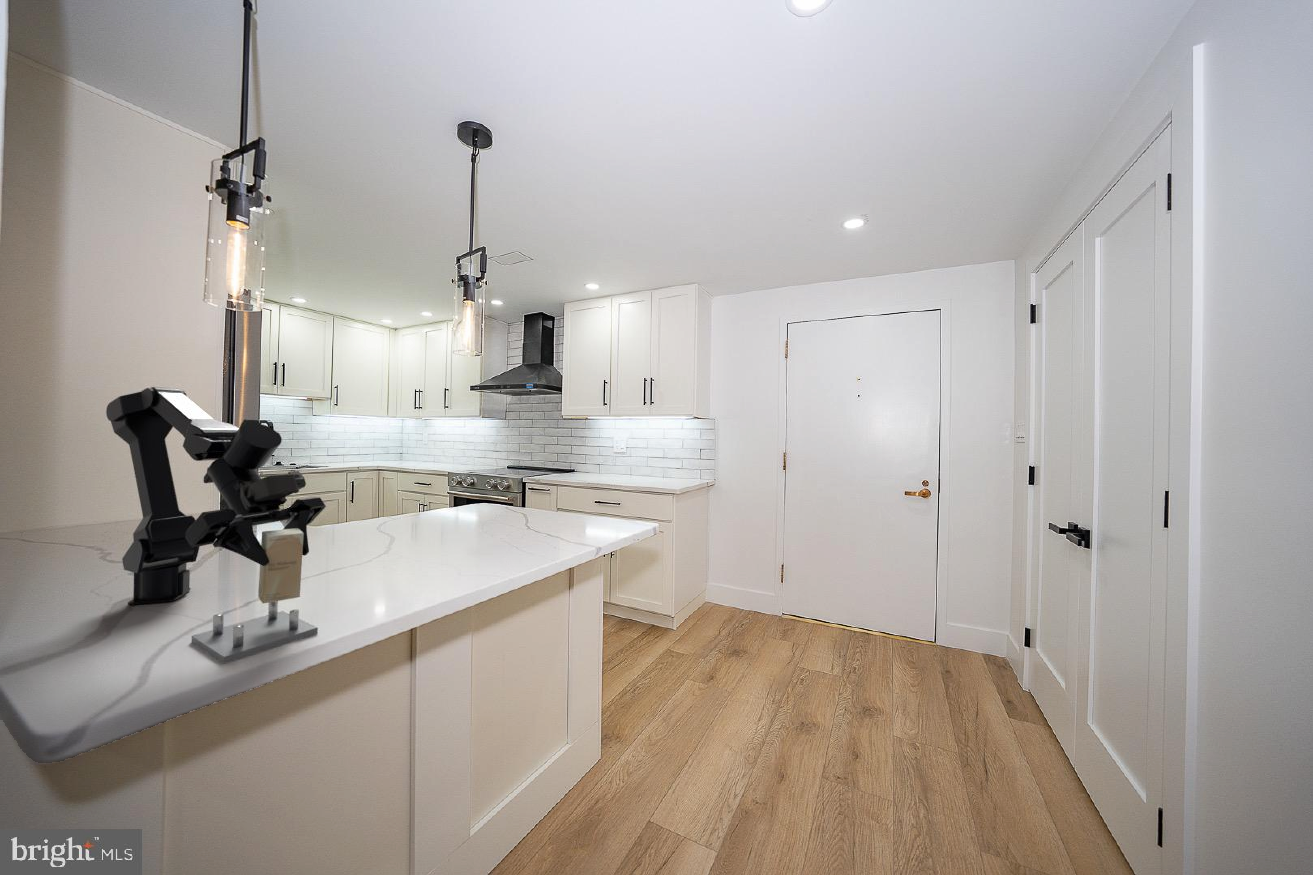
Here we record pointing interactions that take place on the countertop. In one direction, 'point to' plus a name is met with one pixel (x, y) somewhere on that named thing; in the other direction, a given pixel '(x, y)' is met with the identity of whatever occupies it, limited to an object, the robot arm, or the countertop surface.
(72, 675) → the countertop surface
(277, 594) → the box
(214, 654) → the pin tray
